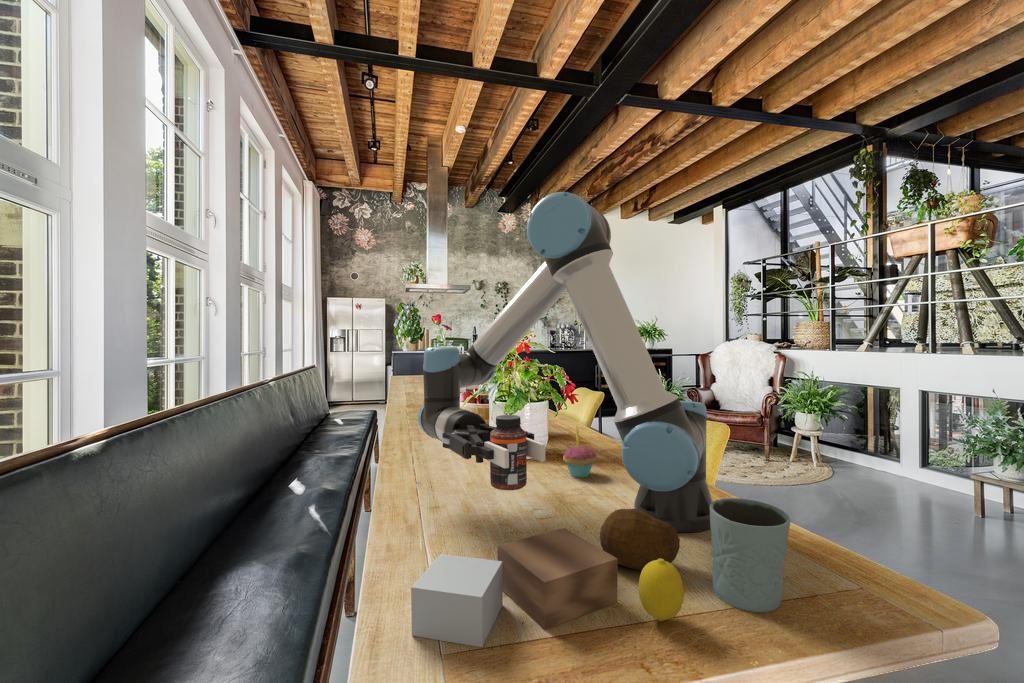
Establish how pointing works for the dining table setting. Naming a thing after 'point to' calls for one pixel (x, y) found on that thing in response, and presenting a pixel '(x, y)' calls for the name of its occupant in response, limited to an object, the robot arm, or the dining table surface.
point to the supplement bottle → (515, 441)
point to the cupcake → (579, 459)
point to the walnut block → (557, 576)
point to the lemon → (661, 589)
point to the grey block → (457, 599)
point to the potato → (638, 538)
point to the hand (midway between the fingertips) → (525, 455)
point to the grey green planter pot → (748, 553)
